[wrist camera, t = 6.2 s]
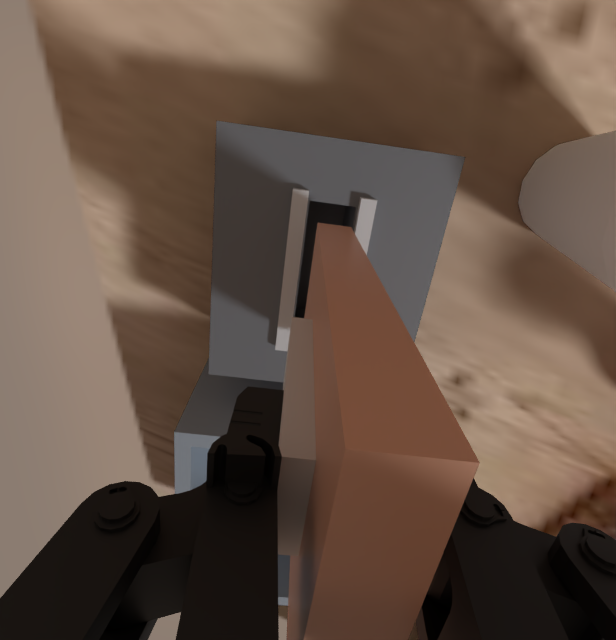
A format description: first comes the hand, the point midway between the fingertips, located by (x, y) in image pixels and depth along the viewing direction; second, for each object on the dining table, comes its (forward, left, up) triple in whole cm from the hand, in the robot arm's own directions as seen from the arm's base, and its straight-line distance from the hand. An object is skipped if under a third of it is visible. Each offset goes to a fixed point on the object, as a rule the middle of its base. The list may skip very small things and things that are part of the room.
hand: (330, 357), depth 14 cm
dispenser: (0, 0, -15) cm, 15 cm away
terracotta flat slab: (0, 0, -6) cm, 6 cm away
